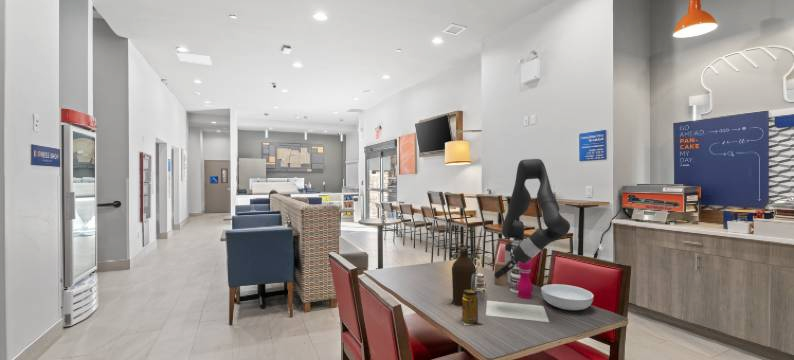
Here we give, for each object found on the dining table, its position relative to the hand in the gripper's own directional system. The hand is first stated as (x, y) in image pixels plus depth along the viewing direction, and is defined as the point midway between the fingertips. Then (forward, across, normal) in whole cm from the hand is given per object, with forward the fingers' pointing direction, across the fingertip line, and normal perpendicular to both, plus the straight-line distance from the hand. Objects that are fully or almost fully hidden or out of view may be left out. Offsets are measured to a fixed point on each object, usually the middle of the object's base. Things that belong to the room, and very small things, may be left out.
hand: (496, 275), depth 156 cm
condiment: (+14, +19, +6) cm, 25 cm away
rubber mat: (+4, 0, +16) cm, 16 cm away
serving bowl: (-9, -16, +30) cm, 35 cm away
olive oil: (+20, +1, 0) cm, 20 cm away
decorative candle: (+6, -30, +15) cm, 34 cm away
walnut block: (+1, 0, +4) cm, 4 cm away
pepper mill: (+4, -20, +17) cm, 27 cm away
